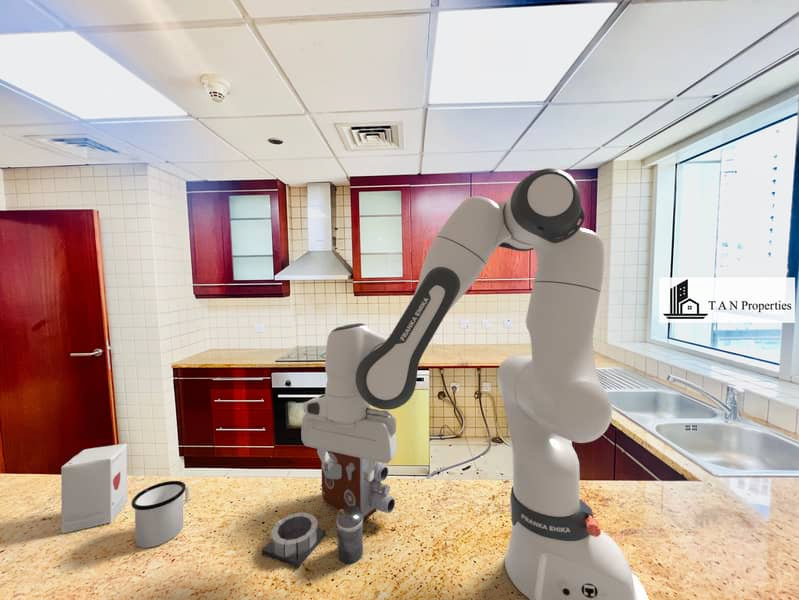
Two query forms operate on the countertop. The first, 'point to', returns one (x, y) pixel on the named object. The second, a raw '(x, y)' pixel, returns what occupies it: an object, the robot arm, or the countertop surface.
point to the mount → (294, 539)
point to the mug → (159, 513)
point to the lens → (350, 534)
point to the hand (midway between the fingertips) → (347, 474)
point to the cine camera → (355, 485)
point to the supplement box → (93, 487)
